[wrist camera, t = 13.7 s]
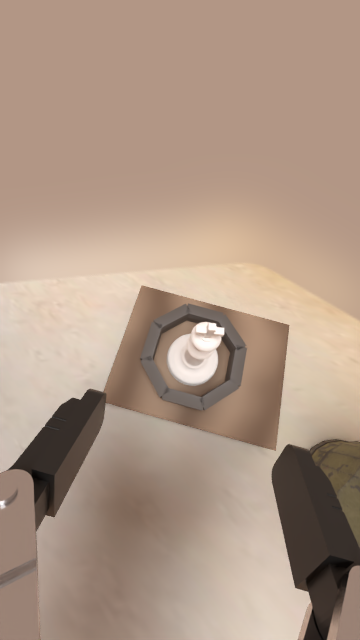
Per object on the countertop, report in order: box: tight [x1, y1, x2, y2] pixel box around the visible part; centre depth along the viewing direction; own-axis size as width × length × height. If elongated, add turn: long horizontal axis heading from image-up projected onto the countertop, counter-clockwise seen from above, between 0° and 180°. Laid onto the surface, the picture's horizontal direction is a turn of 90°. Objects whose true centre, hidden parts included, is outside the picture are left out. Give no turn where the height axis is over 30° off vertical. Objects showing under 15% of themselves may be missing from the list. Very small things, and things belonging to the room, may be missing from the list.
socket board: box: [104, 286, 289, 451], centre depth 23 cm, size 16×12×4 cm
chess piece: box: [167, 322, 224, 386], centre depth 18 cm, size 5×5×10 cm
